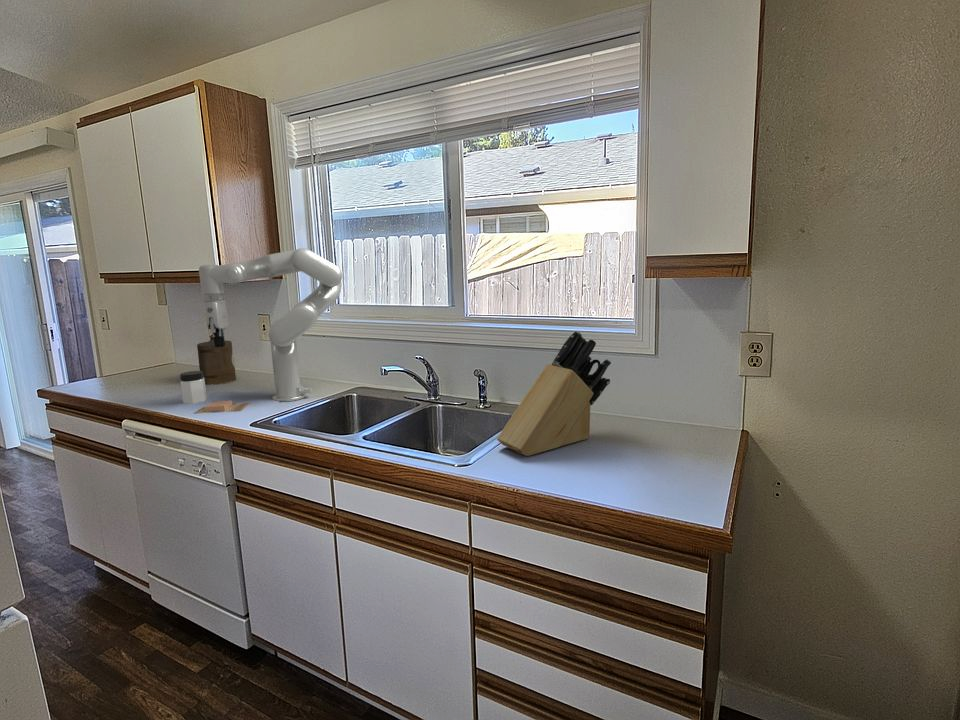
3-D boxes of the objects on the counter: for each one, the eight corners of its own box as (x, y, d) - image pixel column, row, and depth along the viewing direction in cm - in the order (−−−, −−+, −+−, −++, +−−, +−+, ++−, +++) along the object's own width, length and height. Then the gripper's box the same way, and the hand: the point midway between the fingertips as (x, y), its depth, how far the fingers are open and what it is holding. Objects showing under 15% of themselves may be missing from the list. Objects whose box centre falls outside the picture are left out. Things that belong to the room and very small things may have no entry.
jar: (186, 400, 223) (182, 371, 221) (208, 398, 225) (204, 369, 223) (181, 406, 215) (177, 376, 212) (204, 403, 217) (200, 374, 215)
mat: (251, 403, 214) (251, 402, 214) (240, 412, 202) (240, 411, 202) (206, 406, 213) (206, 404, 213) (193, 415, 201) (192, 413, 201)
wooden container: (243, 378, 261) (237, 332, 257) (216, 385, 248) (210, 337, 244) (220, 376, 268) (215, 331, 263) (194, 383, 254) (187, 336, 250)
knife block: (613, 432, 165) (614, 330, 159) (521, 460, 146) (518, 345, 140) (586, 424, 174) (586, 327, 169) (496, 449, 155) (492, 340, 149)
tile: (231, 400, 210) (224, 405, 202) (232, 405, 210) (224, 411, 203) (213, 401, 209) (204, 406, 202) (213, 406, 210) (205, 412, 202)
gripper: (216, 299, 199) (222, 349, 203) (231, 296, 214) (237, 343, 217) (194, 300, 199) (201, 350, 202) (211, 297, 213) (217, 344, 217)
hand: (220, 346), depth 210 cm, fingers closed
